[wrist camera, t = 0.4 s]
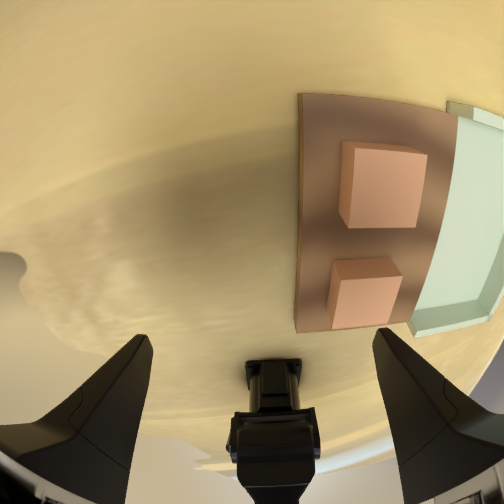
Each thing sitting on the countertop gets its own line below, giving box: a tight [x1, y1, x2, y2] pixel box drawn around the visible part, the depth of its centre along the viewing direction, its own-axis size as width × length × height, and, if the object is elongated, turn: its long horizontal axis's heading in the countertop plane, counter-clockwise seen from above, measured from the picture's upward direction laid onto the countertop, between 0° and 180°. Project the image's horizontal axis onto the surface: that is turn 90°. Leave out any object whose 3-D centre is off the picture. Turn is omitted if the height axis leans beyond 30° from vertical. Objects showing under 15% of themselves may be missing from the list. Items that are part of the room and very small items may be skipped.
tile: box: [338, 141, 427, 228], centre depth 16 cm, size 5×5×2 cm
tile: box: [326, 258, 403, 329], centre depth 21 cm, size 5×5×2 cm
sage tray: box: [406, 101, 504, 338], centre depth 19 cm, size 22×12×4 cm, turn 3°
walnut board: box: [294, 93, 458, 333], centre depth 20 cm, size 20×12×2 cm, turn 3°
